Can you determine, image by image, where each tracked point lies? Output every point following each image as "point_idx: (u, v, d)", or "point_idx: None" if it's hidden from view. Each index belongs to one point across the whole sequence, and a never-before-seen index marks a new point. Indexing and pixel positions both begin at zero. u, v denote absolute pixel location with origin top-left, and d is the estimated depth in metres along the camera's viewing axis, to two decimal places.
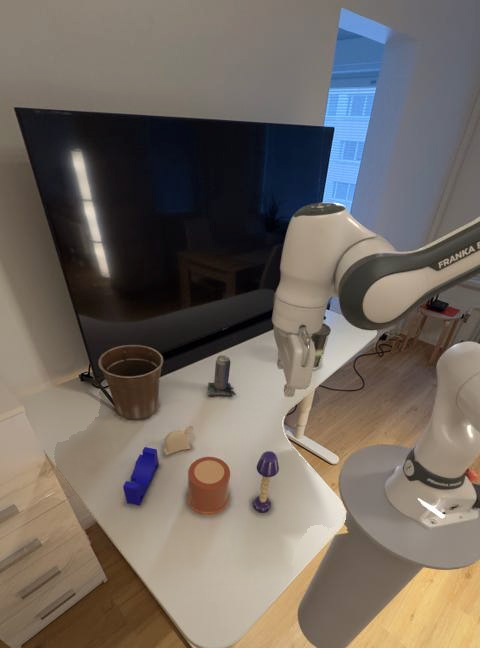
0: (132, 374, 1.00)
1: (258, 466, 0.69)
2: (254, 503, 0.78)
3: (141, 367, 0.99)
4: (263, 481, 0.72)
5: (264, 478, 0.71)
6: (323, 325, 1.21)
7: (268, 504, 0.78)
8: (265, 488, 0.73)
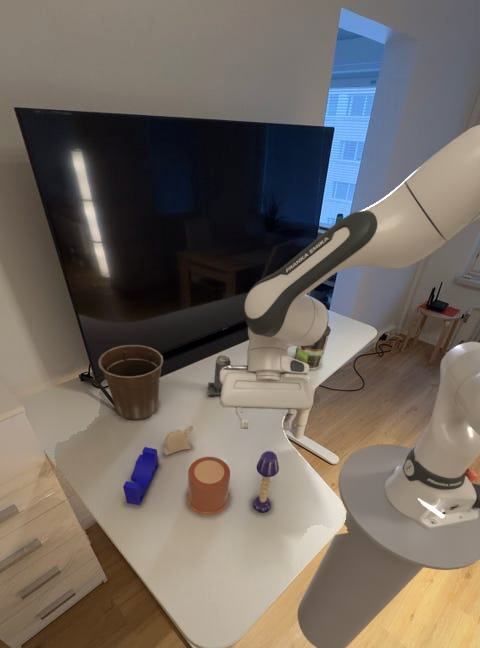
0: (132, 374, 1.00)
1: (258, 466, 0.69)
2: (254, 503, 0.78)
3: (141, 367, 0.99)
4: (263, 481, 0.72)
5: (264, 478, 0.71)
6: None
7: (268, 504, 0.78)
8: (265, 488, 0.73)
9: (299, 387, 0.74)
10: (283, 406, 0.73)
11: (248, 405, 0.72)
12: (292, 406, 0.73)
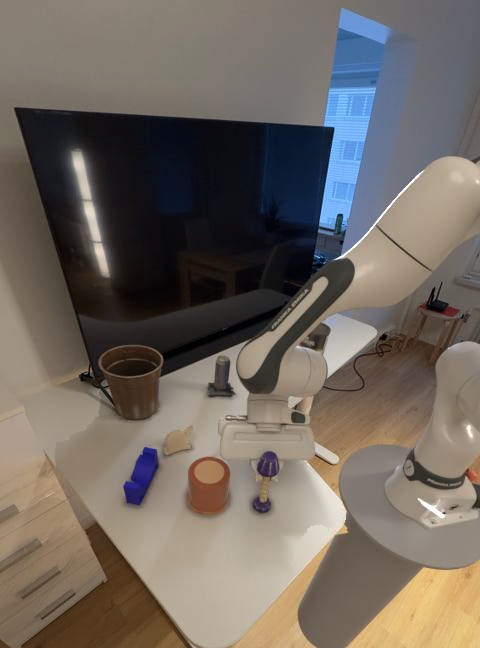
0: (132, 374, 1.00)
1: (258, 466, 0.69)
2: (254, 503, 0.78)
3: (141, 367, 0.99)
4: (263, 481, 0.72)
5: (264, 478, 0.71)
6: (323, 325, 1.21)
7: (268, 504, 0.78)
8: (265, 488, 0.73)
9: (300, 438, 0.72)
10: (284, 458, 0.71)
11: (248, 458, 0.70)
12: (293, 458, 0.71)
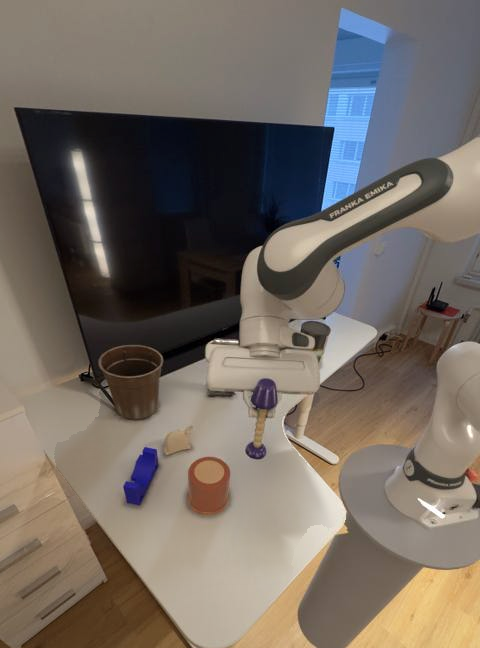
0: (132, 374, 1.00)
1: (253, 396, 0.58)
2: (247, 448, 0.67)
3: (141, 367, 0.99)
4: (258, 418, 0.61)
5: (260, 413, 0.60)
6: (323, 325, 1.21)
7: (263, 449, 0.66)
8: (260, 427, 0.62)
9: (302, 366, 0.60)
10: (283, 389, 0.60)
11: (240, 387, 0.59)
12: (294, 389, 0.60)
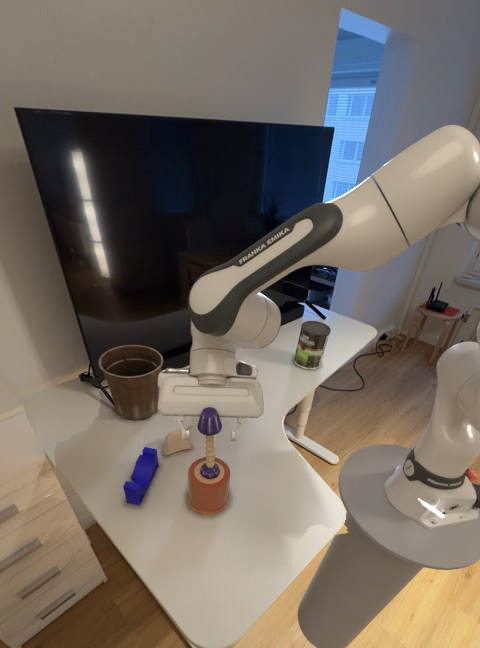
0: (132, 374, 1.00)
1: (198, 424, 0.63)
2: (201, 469, 0.72)
3: (141, 367, 0.99)
4: (206, 442, 0.67)
5: (207, 438, 0.66)
6: (323, 325, 1.21)
7: (216, 470, 0.72)
8: (209, 450, 0.68)
9: (247, 393, 0.66)
10: (229, 414, 0.65)
11: (189, 413, 0.64)
12: (239, 414, 0.65)
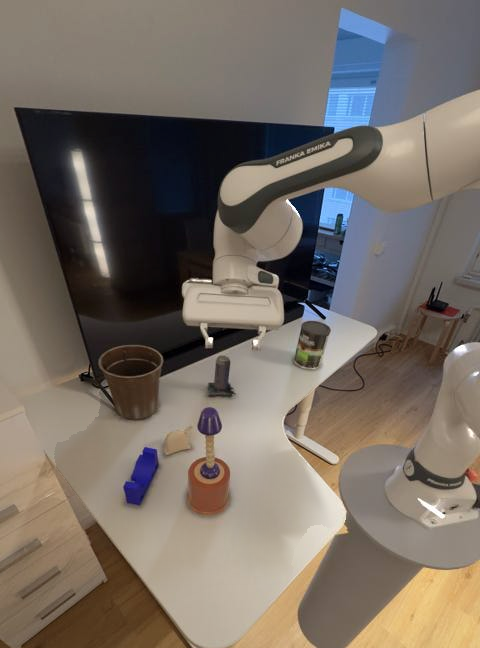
0: (132, 374, 1.00)
1: (198, 424, 0.63)
2: (201, 469, 0.72)
3: (141, 367, 0.99)
4: (206, 442, 0.67)
5: (207, 438, 0.66)
6: (323, 325, 1.21)
7: (216, 470, 0.72)
8: (209, 450, 0.68)
9: (268, 302, 0.68)
10: (251, 322, 0.67)
11: (212, 320, 0.67)
12: (261, 322, 0.68)
